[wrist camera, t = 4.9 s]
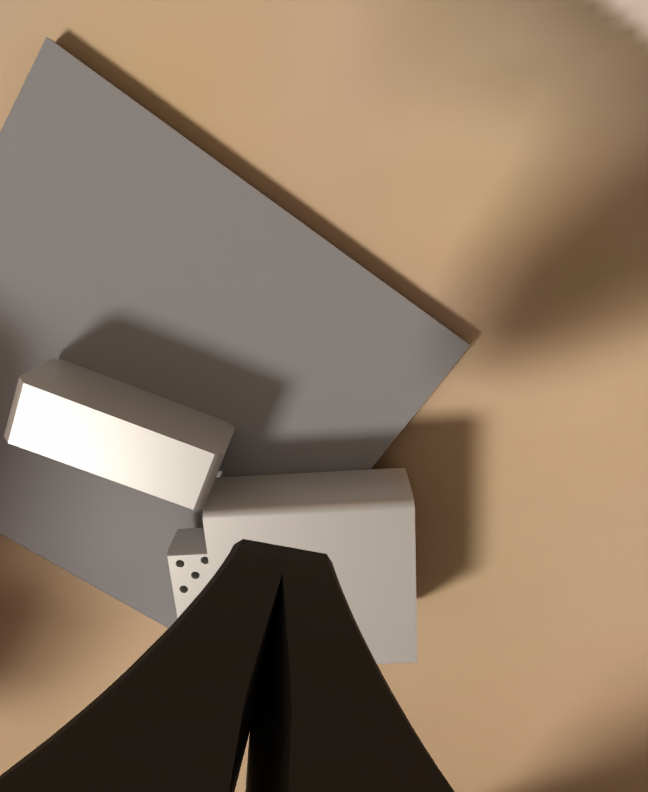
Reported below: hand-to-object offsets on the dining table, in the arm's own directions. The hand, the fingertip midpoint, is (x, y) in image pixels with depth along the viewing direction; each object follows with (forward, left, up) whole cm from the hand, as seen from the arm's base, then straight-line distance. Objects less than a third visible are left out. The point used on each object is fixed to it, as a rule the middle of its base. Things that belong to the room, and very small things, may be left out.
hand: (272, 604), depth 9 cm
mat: (+3, +1, -5) cm, 6 cm away
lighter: (-3, -1, -4) cm, 5 cm away
